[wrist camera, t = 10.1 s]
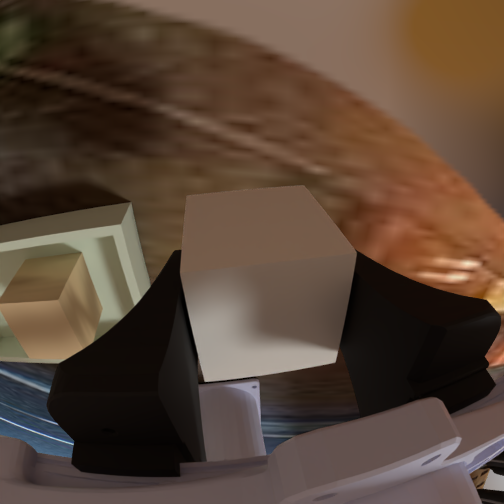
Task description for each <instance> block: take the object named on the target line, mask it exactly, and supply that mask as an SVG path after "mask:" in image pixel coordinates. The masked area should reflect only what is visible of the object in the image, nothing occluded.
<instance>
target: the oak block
mask: <svg viewBox="0 0 504 504" xmlns="http://www.w3.org/2000/svg"><path fill="white" fill-rule="evenodd" d="M102 310H103V307H102V305H101V303H100V300H99V297H98V295H97V292H96V290H95V287H94V284H93V282H92V279H91V276H90V274H89V271H88V268H87V265H86V262H85V259H84V256H83V254H82V252H78V253H70V254H63V255H55V256H47V257H40V258H33V259H25V261H24V262H23V264H22V265H21V267H20V268H19V270H18V271H17V273H16V274H15V276H14V277H13V279H12V280H11V282H10V283H9V285H8V286H7V288H6V289H5V291H4V293H3V294H2V296H1V297H0V311H1V313H2V315H3V316H4V318H5V320H6V322H7V323H8V325H9V327H10V328H11V330H12V332H13V333H14V335H15V336H16V338H17V340H18V341H19V343H20V344H21V346H22V347H23V349H24V351H25V352H26V354H27V355H28V357H29V358H30V359H67V358H69V357H71V356H72V355H74V354H76V353H77V352H79V351H81V350H82V349H84V348H85V347H87V346H88V345H90V344H91V343H93V341H94V337H95V334H96V330H97V327H98V323H99V320H100V317H101V313H102Z"/></svg>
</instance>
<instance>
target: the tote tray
mask: <svg viewBox="0 0 504 504" xmlns="http://www.w3.org/2000/svg"><path fill="white" fill-rule="evenodd" d="M78 252H82V254H83V256H84V259H85V262H86V265H87V268H88V271H89V274H90V276H91V279H92V282H93V284H94V287H95V290H96V292H97V295H98V297H99V300H100V303H101V305H102V307H103V310H102V313H101V317H100V320H99V323H98V327H97V330H96V334H95V337H94V341H96V340H97V339H98V338H100V337H101V336H102V335H104V334H105V333H106V332H107V331H109V330H110V329H111V328H112V327H113V326H114V325H115V324H117V323H118V322H119V321H120V320H121V319H122V318H123V317H124V316H125V315H127V314H128V312H129V311H130V310H131V309H132V308H133V307H134V306H135V305H136V304H137V303H138V302H139V301H140V299H141V298H142V297H143V296H144V294H145V293H146V292H147V290H148V289H149V288H150V287H151V284H150V280H149V276H148V272H147V268H146V265H145V261H144V257H143V253H142V248H141V244H140V240H139V236H138V231H137V227H136V223H135V218H134V213H133V209H132V204H131V202H130V203H123V204H116V205H109V206H103V207H96V208H90V209H84V210H78V211H72V212H67V213H61V214H55V215H50V216H45V217H39V218H34V219H29V220H24V221H19V222H14V223H9V224H5V225H0V297H1V296H2V294H3V293H4V291H5V289H6V288H7V286H8V285H9V283H10V282H11V280H12V279H13V277H14V276H15V274H16V273H17V271H18V270H19V268H20V267H21V265H22V264H23V262H24V261H25V259H33V258H40V257H47V256H55V255H63V254H70V253H78ZM94 341H93V342H94ZM64 360H66V359H30V358H29V357H28V355H27V354H26V352H25V351H24V349H23V347H22V346H21V344H20V343H19V341H18V340H17V338H16V336H15V335H14V333H13V332H12V330H11V328H10V327H9V325H8V323H7V322H6V320H5V318H4V316H3V315H2V313H1V311H0V361H11V362H31V363H60V362H62V361H64Z"/></svg>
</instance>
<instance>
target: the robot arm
mask: <svg viewBox="0 0 504 504" xmlns="http://www.w3.org/2000/svg"><path fill="white" fill-rule="evenodd" d="M355 251H356V252H357V256H356V262H355V268H354V274H353V280H352V286H351V291H350V297H349V302H348V307H347V312H346V317H345V322H344V327H343V331H342V336H341V341H340V345H339V346H340V349H341V351H342V353H343V356H344V359H345V362H346V365H347V368H348V371H349V375H350V378H351V381H352V385H353V388H354V392H355V395H356V399H357V403H358V407H359V411H360V415H361V418H359V419H356V420H352V421H348V422H344V423H341V424H337V425H332V426H328V427H324V428H319V429H316V430H313V431H310V432H307V433H304V434H300V435H297V436H294V437H293V438H291V439H289V440H287V441H285V442H283V443H281V444H280V445H278V446H277V447H276V448H275V449H274V451H273V452H272V454H270V455H266V451H265V446H264V440H263V435H262V430H261V425H260V423H261V416H260V389H259V380H258V379H246V380H238V381H229V382H220V383H210V384H199V385H198V352H197V348H196V344H195V340H194V336H193V331H192V327H191V323H190V318H189V314H188V309H187V304H186V300H185V295H184V290H183V285H182V281H181V276H180V265H181V252H182V250H175V251H174V252H173V253H172V255H171V256H170V258H169V260H168V261H167V263H166V264H165V266H164V268H163V269H162V271H161V272H160V274H159V275H158V277H157V278H156V280H155V281H154V282H153V284H152V285H151V287H150V288H149V289H148V290H147V292H146V293H145V294H144V296H143V297H142V298H141V299H140V301H139V302H138V303H137V304H136V305H135V306H134V307H133V308H132V309H131V310H130V311H129V312H128V314H127V315H125V316H124V317H123V318H122V319H121V320H120V321H119V322H118V323H117V324H115V325H114V326H113V327H112V328H111V329H110V330H109V331H107V332H106V333H105V334H104V335H102V336H101V337H100V338H98V339H97V340H96V341H94V342H93V343H91V344H90V345H88V346H87V347H85V348H84V349H82V350H81V351H79V352H77V353H76V354H74V355H72V356H71V357H69V358H67V359H66V360H64V361H62V362H60V363H59V365H58V367H57V370H56V372H55V375H54V379H53V382H52V386H51V390H50V393H49V397H48V401H47V409H48V412H49V413H50V415H51V416H52V418H53V419H54V420H55V421H56V422H57V424H58V425H59V426H60V427H61V428H62V429H63V430H64V431H65V432H66V433H67V434H68V435H69V436H70V437H71V438H72V439H73V440H74V447H73V453H72V458H68V457H61V456H54V455H48V454H42V453H37V452H36V450H35V449H34V448H33V447H32V446H30V445H29V444H28V443H26V442H24V441H22V440H19V439H16V438H11V437H7V436H2V435H0V504H482V502H481V499H480V497H479V495H478V492H477V490H476V488H475V486H474V483H473V481H472V479H471V477H470V475H469V474H470V473H472V472H473V471H475V470H476V469H478V468H480V467H481V466H483V465H484V464H486V463H487V462H489V461H490V460H491V459H493V458H494V457H496V456H497V455H499V454H500V453H501V452H503V451H504V375H503V376H501V377H499V378H497V379H496V380H493V379H492V377H491V376H490V374H489V373H488V371H487V370H486V368H488V366H489V362H488V361H487V359H486V358H485V355H486V353H487V352H488V350H489V349H490V347H491V345H492V343H493V342H494V340H495V338H496V336H497V334H498V332H499V330H500V326H501V316H500V315H499V314H498V312H497V311H496V310H495V309H494V308H493V307H492V305H491V304H490V303H489V302H488V301H487V300H484V299H479V298H473V297H467V296H462V295H458V294H454V293H450V292H446V291H443V290H439V289H436V288H433V287H430V286H427V285H425V284H422V283H419V282H416V281H414V280H412V279H409V278H407V277H405V276H403V275H400V274H398V273H396V272H394V271H392V270H390V269H388V268H386V267H384V266H383V265H381V264H379V263H377V262H375V261H374V260H372V259H370V258H368V257H367V256H365V255H363V254H362V253H360V252H358V251H357V250H355Z"/></svg>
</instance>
